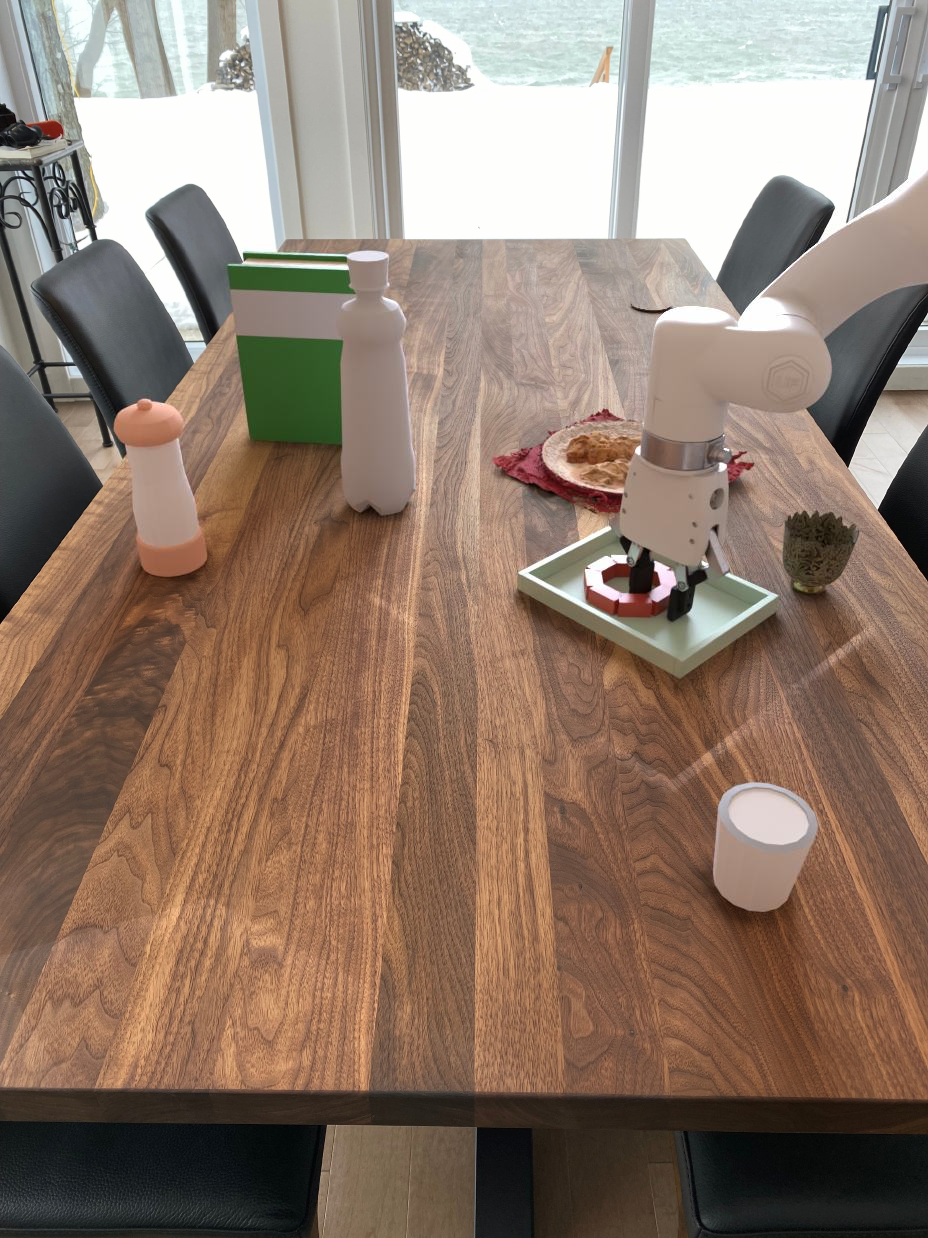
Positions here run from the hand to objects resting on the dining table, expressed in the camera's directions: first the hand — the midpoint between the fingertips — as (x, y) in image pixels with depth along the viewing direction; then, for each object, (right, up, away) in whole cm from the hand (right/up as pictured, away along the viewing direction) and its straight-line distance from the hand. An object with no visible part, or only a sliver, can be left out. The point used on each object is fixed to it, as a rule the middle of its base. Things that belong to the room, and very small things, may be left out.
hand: (658, 604), depth 102 cm
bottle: (-31, +13, +20) cm, 39 cm away
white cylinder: (+1, -21, -29) cm, 36 cm away
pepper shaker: (-53, +5, +9) cm, 54 cm away
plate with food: (0, +18, +28) cm, 33 cm away
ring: (-3, +1, +2) cm, 4 cm away
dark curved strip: (+16, +60, +89) cm, 108 cm away
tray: (-1, 0, +2) cm, 2 cm away
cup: (+17, +1, +4) cm, 17 cm away
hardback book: (-42, +25, +38) cm, 62 cm away
